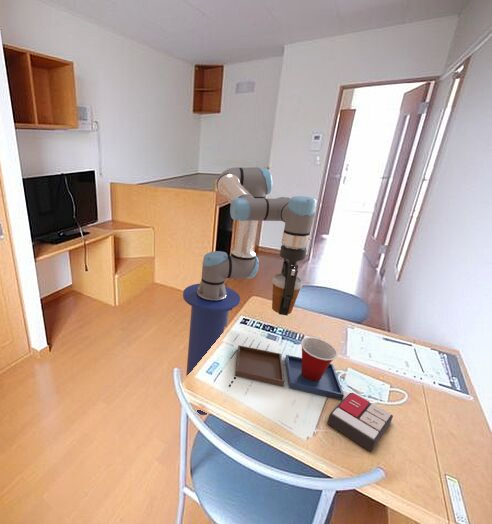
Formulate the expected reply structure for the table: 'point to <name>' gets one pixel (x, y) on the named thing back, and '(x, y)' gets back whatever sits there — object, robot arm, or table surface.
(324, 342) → the plastic cup
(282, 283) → the disposable coffee cup
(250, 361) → the paper tray
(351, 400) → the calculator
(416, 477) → the table surface
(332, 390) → the plastic tray
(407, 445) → the table surface
